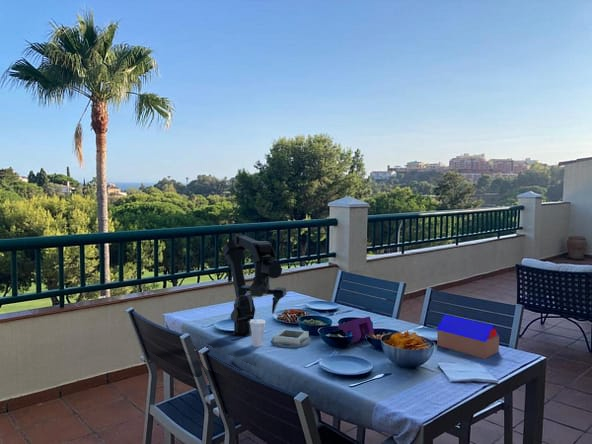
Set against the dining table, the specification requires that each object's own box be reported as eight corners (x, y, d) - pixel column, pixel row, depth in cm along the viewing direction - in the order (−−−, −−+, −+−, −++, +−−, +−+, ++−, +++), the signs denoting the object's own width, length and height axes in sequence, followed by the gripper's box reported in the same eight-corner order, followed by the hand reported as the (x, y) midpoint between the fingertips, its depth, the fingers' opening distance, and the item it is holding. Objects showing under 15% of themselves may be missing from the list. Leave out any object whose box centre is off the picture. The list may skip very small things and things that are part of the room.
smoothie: (249, 342, 184) (249, 308, 183) (265, 342, 185) (265, 308, 184) (249, 348, 178) (249, 312, 177) (265, 347, 178) (265, 312, 177)
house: (451, 339, 190) (452, 311, 189) (499, 352, 175) (500, 322, 174) (435, 345, 182) (436, 317, 181) (485, 360, 167) (486, 328, 166)
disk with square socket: (265, 345, 181) (265, 337, 181) (280, 333, 196) (280, 326, 196) (304, 350, 176) (304, 342, 176) (316, 337, 191) (316, 330, 191)
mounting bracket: (332, 348, 195) (358, 341, 181) (327, 329, 197) (352, 320, 183) (349, 344, 200) (375, 336, 186) (344, 325, 203) (369, 316, 189)
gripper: (232, 276, 174) (232, 316, 175) (279, 279, 170) (279, 320, 171) (242, 271, 185) (242, 309, 186) (286, 273, 181) (286, 312, 182)
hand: (261, 312), depth 181 cm, fingers open, 9 cm apart
